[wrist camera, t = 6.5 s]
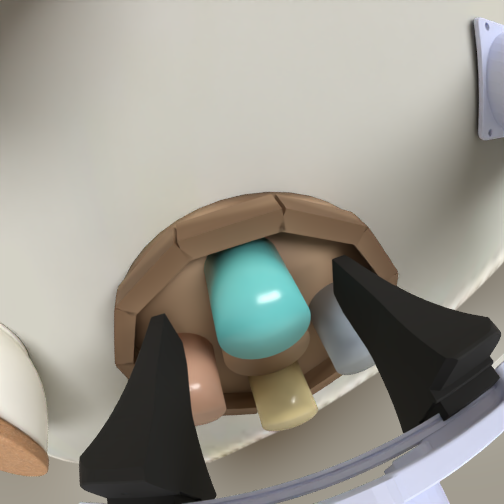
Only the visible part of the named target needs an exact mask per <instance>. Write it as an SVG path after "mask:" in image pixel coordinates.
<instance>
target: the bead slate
mask: <svg viewBox="0 0 504 504" xmlns="http://www.w3.org/2000/svg"><path fill="white" fill-rule="evenodd" d="M309 310H310V314H311V322H312V324H313V326H314V328H315V330H316V332H317V334H318V336H319V338H320V340H321V341H322V343H323V345H324V347H325V349H326V351H327V353H328V355H329V357H330V359H331V361H332V363H333V365H334V367H335V369H336V371H337V372H338V373H339V374H342V375H351V374H356V373H359V372H362V371H364V370H366V369H368V368H370V367H372V366H373V365H375V362H374V360H373V358H372V357H371V355H370V353H369V351H368V350H367V348H366V347H365V345H364V344H363V342H362V341H361V339H360V338H359V336H358V335H357V333H356V332H355V330H354V329H353V327H352V326H351V324H350V322H349V321H348V319H347V318H346V316H345V315H344V313H343V312H342V310H341V308H340V306H339V304H338V302H337V300H336V298H335V296H334V294H333V283H330V284H329V285H327V286H325V287H324V288H322V289H321V290H320V291H319V292H318V293H317V294H316V295H315V296H314V297H313V299H312V300H311V302H310V304H309Z"/></svg>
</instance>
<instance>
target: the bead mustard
mask: <svg viewBox="0 0 504 504" xmlns="http://www.w3.org/2000/svg"><path fill="white" fill-rule="evenodd" d="M248 380H249V383H250V387H251V390H252V393H253V397H254V400H255V404H256V407H257V410H258V414H259V417H260V420H261V424H262V427H263V429H265V430H267V431H282V430H287V429H290V428H294V427H296V426H299V425H301V424H303V423H305V422H307V421H308V420H310V419H311V418H312V417H314V416H315V415H316V413H317V411H318V408H317V405H316V403H315V401H314V398H313V396H312V393H311V391H310V389H309V386H308V384H307V382H306V379H305V377H304V375H303V372H302V370H301V367H300V365H299V363H298V360H297V361H295V362H294V363H293V364H291V365H289V366H288V367H286V368H284V369H282V370H280V371H277V372H274V373H271V374H266V375H261V376H248Z"/></svg>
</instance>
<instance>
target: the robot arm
mask: <svg viewBox="0 0 504 504" xmlns="http://www.w3.org/2000/svg"><path fill="white" fill-rule="evenodd" d="M474 29H475V37H476V46H477V58H478V75H479V123H478V135H479V138H480V139H482V140H491V139H497V138H503V137H504V25H501V24H499V23H496V22H493V21H490V20H487V19H484V18H480V17H476V18H475V19H474ZM332 271H333V294H334V296H335V298H336V300H337V302H338V304H339V306H340V308H341V310H342V312H343V313H344V315H345V316H346V318H347V319H348V321H349V322H350V324H351V326H352V327H353V329H354V330H355V332H356V333H357V335H358V336H359V338H360V339H361V341H362V342H363V344H364V345H365V347H366V348H367V350H368V351H369V353H370V355H371V357H372V358H373V360H374V362H375V364H376V367H377V369H378V371H379V373H380V375H381V377H382V379H383V381H384V383H385V386H386V388H387V390H388V393H389V395H390V398H391V400H392V402H393V405H394V407H395V410H396V413H397V416H398V419H399V421H400V424H401V428H402V431H403V433H404V434H402V435H400V436H398V437H397V438H395V439H393V440H391V441H389V442H387V443H385V444H383V445H381V446H379V447H377V448H375V449H373V450H370V451H368V452H366V453H364V454H361V455H359V456H357V457H355V458H352V459H350V460H348V461H345V462H343V463H340V464H338V465H336V466H333V467H330V468H328V469H325V470H322V471H319V472H316V473H314V474H311V475H308V476H305V477H302V478H299V479H296V480H292V481H289V482H286V483H282V484H279V485H275V486H272V487H268V488H264V489H261V490H256V491H252V492H248V493H243V494H238V495H234V496H229V497H224V498H218V499H215V497H216V492H215V490H214V487H213V484H212V482H211V479H210V477H209V473H208V470H207V467H206V464H205V461H204V458H203V455H202V451H201V448H200V444H199V440H198V437H197V433H196V428H195V424H194V420H193V415H192V408H191V399H190V389H189V378H188V367H187V361H186V356H185V351H184V346H183V342H182V341H181V339H180V337H179V336H178V334H177V333H176V331H175V329H174V328H173V326H172V324H171V323H170V321H169V319H168V318H167V316H166V314H165V313H163V314H160V315H157V316H153V317H151V319H150V322H149V325H148V328H147V331H146V334H145V337H144V340H143V343H142V346H141V349H140V352H139V355H138V357H137V360H136V363H135V365H134V368H133V370H132V373H131V375H130V378H129V380H128V383H127V385H126V387H125V389H124V391H123V393H122V395H121V397H120V399H119V401H118V403H117V405H116V407H115V409H114V410H113V412H112V414H111V415H110V417H109V419H108V420H107V422H106V423H105V425H104V426H103V428H102V429H101V431H100V432H99V434H98V435H97V436H96V438H95V439H94V440H93V442H92V443H91V444H90V445H89V447H88V448H87V449H86V450H85V451H84V453H83V454H82V455H81V456H80V461H79V472H80V486H81V488H83V489H84V490H86V491H88V492H91V493H94V494H96V495H99V496H102V497H105V498H107V501H108V504H276V503H280V502H283V501H287V500H290V499H294V498H297V497H300V496H303V495H307V494H309V493H313V492H316V491H318V490H321V489H324V488H327V487H329V486H332V485H335V484H337V483H340V482H342V481H345V480H347V479H350V478H352V477H355V476H357V475H359V474H361V473H364V472H366V471H368V470H370V469H373V468H375V467H377V466H379V465H381V464H383V463H385V462H387V461H389V460H391V459H393V458H395V457H397V456H399V455H401V454H402V453H404V452H406V451H408V450H410V449H412V448H413V447H415V446H417V445H418V446H417V447H415V448H414V449H412V450H411V451H409V452H407V453H406V454H404V455H402V456H401V457H399V458H398V459H396V460H394V461H393V463H392V465H391V466H390V467H389V468H387V469H386V470H385V471H384V473H385V475H384V476H382V477H380V478H377V479H375V480H373V481H371V482H368V483H366V484H364V485H361V486H359V487H357V488H354V489H352V490H349V491H347V492H344V493H341V494H339V495H336V496H334V497H331V498H328V499H325V500H323V501H320V502H317V503H314V504H450V503H449V501H448V499H447V497H446V495H445V493H444V491H443V489H442V487H441V485H440V483H439V482H440V481H441V480H443V479H444V478H446V477H447V476H448V475H450V474H451V473H453V472H454V471H456V470H457V469H458V468H460V467H461V466H462V465H464V464H465V463H466V462H468V461H469V460H470V459H472V458H473V457H474V456H475V455H477V454H478V453H479V452H480V451H482V450H483V449H484V448H485V447H486V446H487V445H489V444H490V443H491V442H492V441H493V440H494V439H496V438H497V437H498V436H499V435H500V434H501V433H502V432H503V431H504V361H503V362H502V363H501V364H500V365H499V366H498V367H497V368H496V369H495V370H494V368H493V367H492V366H491V365H492V364H493V360H492V359H491V357H490V355H491V353H492V351H493V350H494V348H495V347H496V345H497V344H498V341H499V339H500V337H501V332H500V330H499V329H498V328H497V327H496V326H495V324H494V323H493V322H492V321H491V320H490V319H489V318H488V317H483V316H478V315H472V314H467V313H463V312H459V311H456V310H452V309H449V308H445V307H443V306H440V305H437V304H434V303H431V302H429V301H426V300H424V299H422V298H419V297H417V296H415V295H413V294H410V293H408V292H406V291H404V290H402V289H400V288H399V287H397V286H395V285H393V284H391V283H389V282H388V281H386V280H384V279H383V278H381V277H379V276H378V275H376V274H374V273H373V272H371V271H370V270H368V269H367V268H365V267H363V266H362V265H360V264H359V263H357V262H356V261H354V260H353V259H351V258H349V257H348V256H346V255H342V256H339V257H336V258H334V259H332ZM79 504H104V503H87V502H80V503H79Z"/></svg>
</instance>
